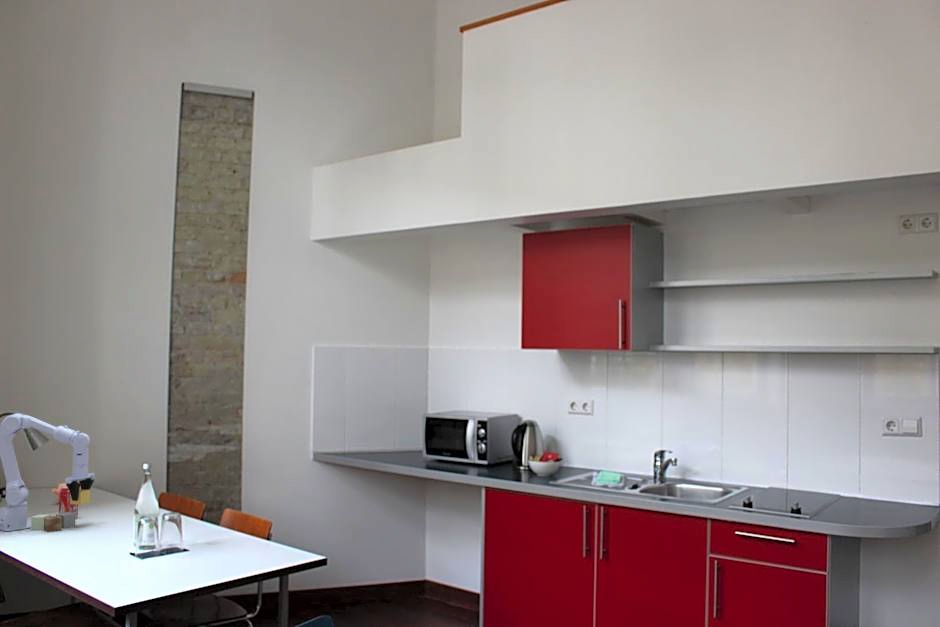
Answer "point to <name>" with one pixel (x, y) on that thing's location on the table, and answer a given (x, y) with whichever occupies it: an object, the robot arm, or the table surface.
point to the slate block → (67, 519)
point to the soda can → (66, 502)
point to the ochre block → (82, 497)
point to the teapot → (59, 490)
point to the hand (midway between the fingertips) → (79, 499)
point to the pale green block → (38, 522)
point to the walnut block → (53, 523)
